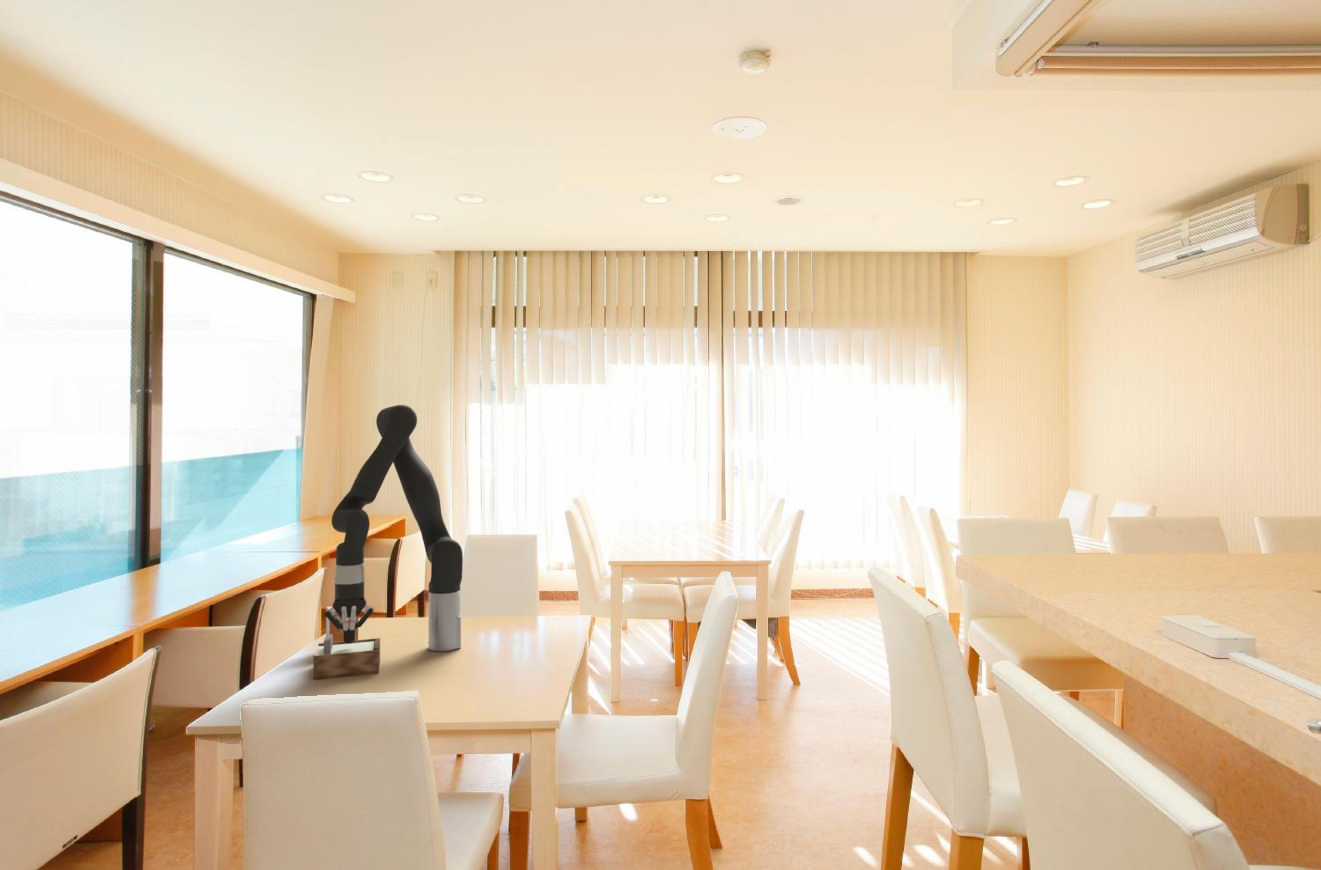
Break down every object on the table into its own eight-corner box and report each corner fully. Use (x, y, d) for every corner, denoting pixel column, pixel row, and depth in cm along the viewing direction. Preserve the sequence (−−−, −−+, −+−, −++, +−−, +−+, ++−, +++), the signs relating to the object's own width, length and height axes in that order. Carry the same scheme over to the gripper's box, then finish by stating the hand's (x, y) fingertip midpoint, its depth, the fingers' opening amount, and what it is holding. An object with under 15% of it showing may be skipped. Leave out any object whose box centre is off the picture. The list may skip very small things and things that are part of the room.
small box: (329, 655, 209) (329, 611, 209) (325, 650, 214) (325, 606, 214) (358, 650, 213) (358, 607, 213) (354, 645, 219) (354, 603, 218)
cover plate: (374, 643, 204) (374, 628, 204) (372, 654, 194) (372, 639, 194) (318, 648, 199) (318, 633, 199) (313, 659, 189) (313, 644, 189)
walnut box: (380, 659, 205) (380, 636, 205) (378, 672, 194) (378, 649, 194) (318, 665, 200) (318, 642, 200) (313, 679, 188) (313, 655, 188)
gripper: (376, 576, 203) (375, 637, 203) (325, 578, 198) (324, 641, 198) (375, 581, 196) (374, 644, 196) (321, 584, 191) (321, 649, 191)
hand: (349, 642), depth 197 cm, fingers closed
